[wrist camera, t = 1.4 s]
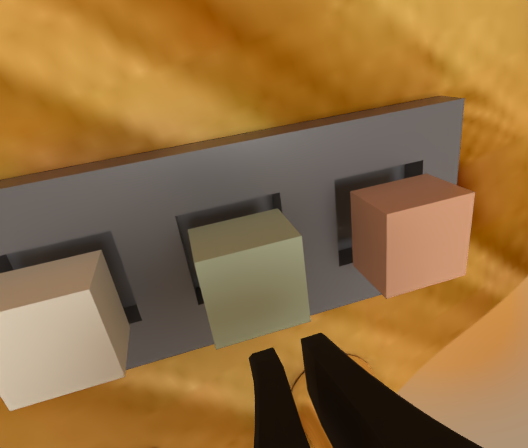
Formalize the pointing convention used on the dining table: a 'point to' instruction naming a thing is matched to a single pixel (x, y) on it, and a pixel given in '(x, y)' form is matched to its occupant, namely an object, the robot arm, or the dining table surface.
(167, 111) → the dining table surface
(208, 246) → the sage button
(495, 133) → the dining table surface
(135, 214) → the button panel
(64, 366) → the cream button
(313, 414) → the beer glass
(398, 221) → the terracotta button
